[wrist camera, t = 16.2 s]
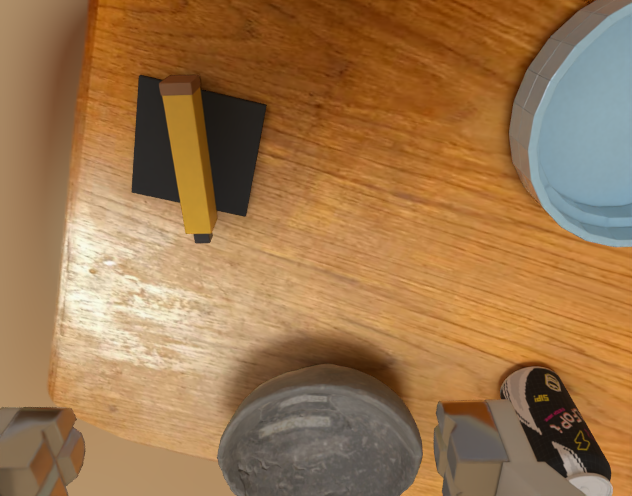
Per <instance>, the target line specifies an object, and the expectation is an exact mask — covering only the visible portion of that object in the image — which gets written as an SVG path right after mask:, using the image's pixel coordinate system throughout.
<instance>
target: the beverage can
mask: <svg viewBox="0 0 632 496" xmlns="http://www.w3.org/2000/svg"><path fill="white" fill-rule="evenodd" d="M500 397H501V399H508V400H509V401H510V402H511V403H512V405H513V407H514V409H515V412H516V414H517V416H518V418H519V421H520V423H521V425H522V428H523V430H524V432H525V434H526V437H527V439H528V441H529V443H530V446H531V448H532V450H533V452H534V455H535V457H536V459H537V462H546V463H547V464H548V465H549V466H550V467H552V468H553V469H554V470H555V471H557V472H558V473H559V474H560V475H562V476H563V477H564V478H565V479H567V480H568V481H569V482H570V483H572V484H573V485H574V486H575V487H577V488H578V489H579V490H580V491H582V492H583V493H584V494H585V495H587V496H612V493H613V488H612V485H611V483H610V479H611V469H610V465H609V463H608V461H607V459H606V458H605V456H604V454H603V452H602V451H601V449H600V447H599V445H598V444H597V442H596V440H595V439H594V437H593V435H592V433H591V432H590V430H589V428H588V426H587V425H586V423H585V421H584V419H583V418H582V416H581V414H580V412H579V411H578V409H577V407H576V405H575V404H574V402H573V400H572V399H571V397H570V395H569V393H568V392H567V390H566V388H565V386H564V385H563V383H562V381H561V379H560V378H559V376H558V375H557V374H556V373H555V372H554V371H552V370H550V369H548V368H545V367H539V366H532V367H526V368H523V369H520V370H518V371H515V372H514V373H512V374H511V375H510V376H508V377H507V378H506V379H505V381H504V382H503V384H502V386H501V389H500Z"/></svg>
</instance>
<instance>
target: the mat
mask: <svg viewBox="0 0 632 496" xmlns="http://www.w3.org/2000/svg"><path fill="white" fill-rule="evenodd" d="M162 81H163V80H160V79H156V78H151V77H147V76H143V75H140V76H139V83H138V99H137V115H136V131H135V147H134V163H133V178H132V193H137V194H142V195H146V196H151V197H156V198H160V199H165V200H170V201H174V202H179V203H180V197H179V191H178V186H177V180H176V174H175V168H174V162H173V156H172V150H171V144H170V138H169V132H168V126H167V120H166V114H165V109H164V103H163V97H162V96H161V93H160V88H159V83H160V82H162ZM200 90H201V98H202V105H203V113H204V120H205V128H206V135H207V143H208V151H209V158H210V166H211V173H212V181H213V188H214V196H215V203H216V210H217V211H221V212H226V213H231V214H235V215H240V216H246V213H247V208H248V203H249V197H250V192H251V186H252V181H253V176H254V170H255V165H256V160H257V154H258V149H259V143H260V138H261V133H262V127H263V122H264V116H265V111H266V106H267V105H265V104H261V103H257V102H253V101H248V100H244V99H240V98H236V97H232V96H227V95H223V94H219V93H215V92H211V91H206V90H202V89H200Z"/></svg>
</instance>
